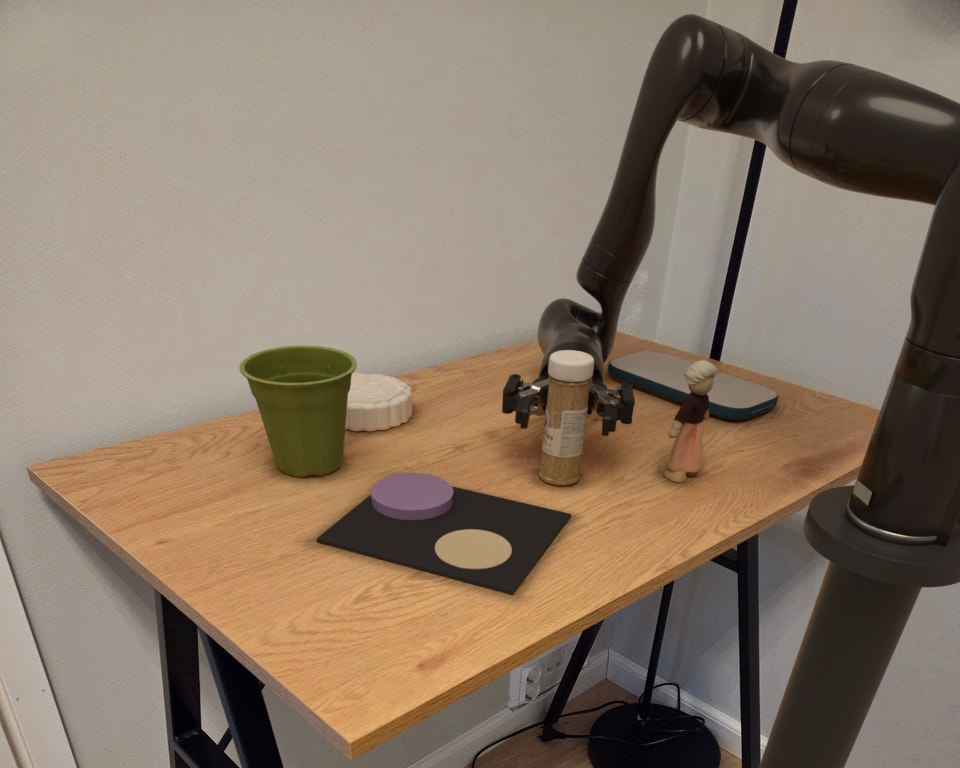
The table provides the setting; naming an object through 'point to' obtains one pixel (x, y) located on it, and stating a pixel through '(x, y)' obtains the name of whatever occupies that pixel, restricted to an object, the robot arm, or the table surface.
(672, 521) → the table surface
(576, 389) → the spice jar
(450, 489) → the lilac disc
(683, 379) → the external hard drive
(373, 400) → the mooncake
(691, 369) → the grandmother figurine
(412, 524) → the table mat
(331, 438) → the plant pot
